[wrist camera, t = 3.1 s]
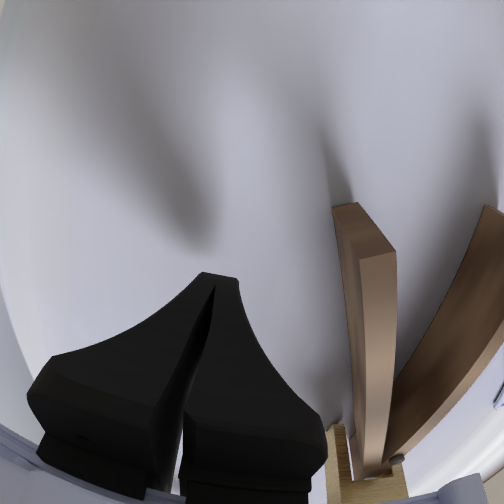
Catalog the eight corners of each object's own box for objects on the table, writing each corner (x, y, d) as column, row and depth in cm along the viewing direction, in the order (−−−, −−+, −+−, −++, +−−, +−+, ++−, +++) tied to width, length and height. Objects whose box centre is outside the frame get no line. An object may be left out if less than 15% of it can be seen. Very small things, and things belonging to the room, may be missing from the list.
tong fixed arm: (360, 440, 19) (368, 488, 15) (348, 440, 19) (355, 489, 15) (498, 210, 11) (557, 253, 7) (485, 204, 11) (546, 247, 7)
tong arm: (369, 415, 17) (379, 468, 13) (354, 419, 17) (362, 472, 13) (357, 202, 11) (396, 251, 7) (331, 207, 11) (359, 259, 7)
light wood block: (379, 437, 18) (392, 511, 12) (322, 438, 18) (328, 518, 12) (391, 423, 17) (409, 501, 12) (332, 423, 17) (341, 510, 11)
